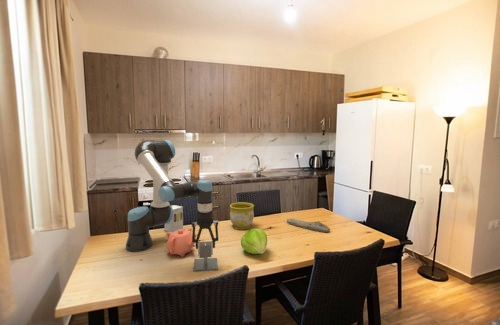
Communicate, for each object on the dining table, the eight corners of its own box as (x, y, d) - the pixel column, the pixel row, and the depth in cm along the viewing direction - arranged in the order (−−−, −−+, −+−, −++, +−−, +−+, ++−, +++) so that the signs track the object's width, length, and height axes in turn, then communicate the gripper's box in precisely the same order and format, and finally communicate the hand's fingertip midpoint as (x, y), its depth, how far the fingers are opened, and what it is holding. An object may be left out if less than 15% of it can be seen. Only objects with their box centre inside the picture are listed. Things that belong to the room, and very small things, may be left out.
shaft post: (194, 260, 145) (194, 252, 145) (216, 259, 147) (216, 250, 146) (193, 271, 133) (193, 262, 133) (217, 269, 135) (217, 260, 135)
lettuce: (247, 262, 143) (247, 237, 142) (237, 247, 162) (237, 225, 161) (274, 258, 148) (274, 234, 147) (261, 244, 167) (261, 223, 166)
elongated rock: (290, 222, 215) (283, 226, 208) (290, 216, 215) (283, 219, 207) (332, 230, 192) (326, 234, 185) (332, 222, 192) (326, 227, 184)
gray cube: (199, 252, 142) (199, 241, 141) (211, 252, 143) (211, 240, 142) (199, 257, 136) (199, 245, 135) (211, 257, 137) (211, 245, 136)
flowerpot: (231, 222, 209) (231, 202, 208) (254, 223, 209) (254, 202, 207) (228, 230, 191) (228, 208, 190) (253, 231, 191) (253, 208, 189)
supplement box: (173, 233, 186) (172, 209, 185) (164, 230, 191) (163, 207, 189) (183, 229, 194) (183, 206, 193) (174, 227, 199) (173, 204, 197)
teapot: (191, 244, 166) (191, 223, 165) (199, 255, 151) (199, 232, 150) (164, 249, 159) (164, 227, 158) (170, 261, 144) (169, 237, 143)
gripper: (185, 213, 132) (186, 258, 134) (224, 211, 135) (224, 256, 137) (186, 209, 140) (187, 252, 142) (223, 208, 142) (223, 250, 145)
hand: (205, 254), depth 139 cm, fingers closed on gray cube, 6 cm apart
